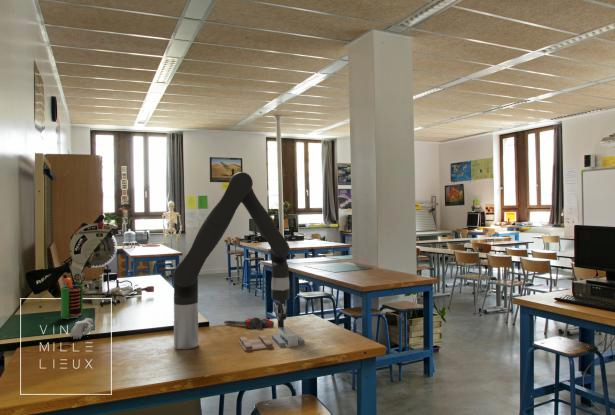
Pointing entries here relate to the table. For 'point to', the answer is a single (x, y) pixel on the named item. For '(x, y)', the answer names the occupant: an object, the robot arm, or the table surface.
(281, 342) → the grey channel bracket
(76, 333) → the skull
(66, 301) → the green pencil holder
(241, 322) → the valve
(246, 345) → the cradle
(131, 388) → the table surface
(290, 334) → the block
